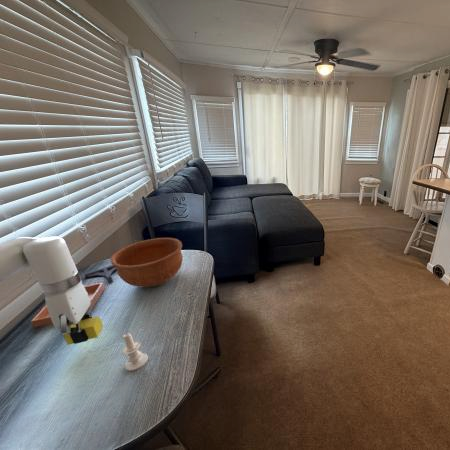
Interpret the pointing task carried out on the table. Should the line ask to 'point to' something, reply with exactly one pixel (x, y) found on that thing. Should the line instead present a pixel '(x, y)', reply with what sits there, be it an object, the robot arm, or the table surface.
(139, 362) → the chess piece
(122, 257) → the bowl
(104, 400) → the table surface
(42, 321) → the pan
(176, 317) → the table surface
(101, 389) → the table surface
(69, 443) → the table surface
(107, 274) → the bracket
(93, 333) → the sponge
